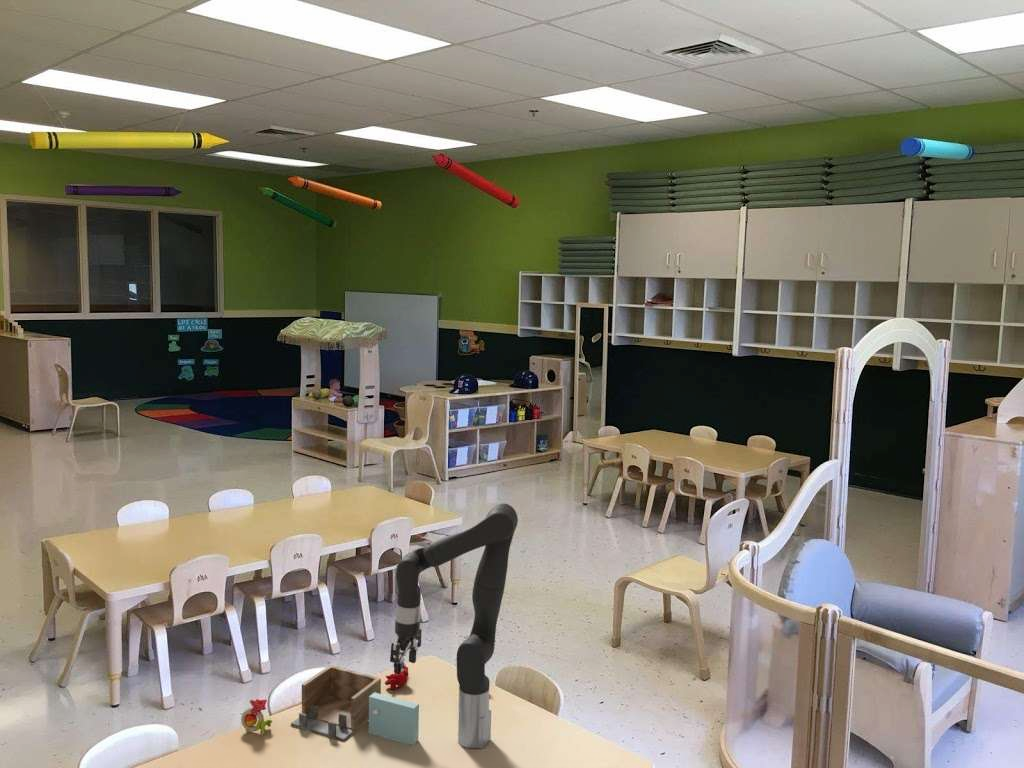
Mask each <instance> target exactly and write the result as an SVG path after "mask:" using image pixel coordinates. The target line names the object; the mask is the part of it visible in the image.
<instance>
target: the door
mask: <svg viewBox="0 0 1024 768" xmlns="http://www.w3.org/2000/svg"><path fill="white" fill-rule="evenodd" d="M419 715H420V704H419V703H415V702H413V701H409V700H406V699H401V698H398V697H393V696H389V695H385V694H383V693H381V694H379V693H375V692H374V693H373V694H372V695H370V696H369V721H368V734H371V735H375V736H379V737H382V738H385V739H389V740H392V741H396V740H397V742H399V741H400V743H403V744H406V743H407V744H406V745H410V744H412V745H411V746H414V745H416V744H415V743H416V742H417V741H418V742H419V732H420V731H419V725H420V724H419V722H420V721H419V720H420V719H419V718H420V716H419ZM418 742H417V743H418Z"/></svg>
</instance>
